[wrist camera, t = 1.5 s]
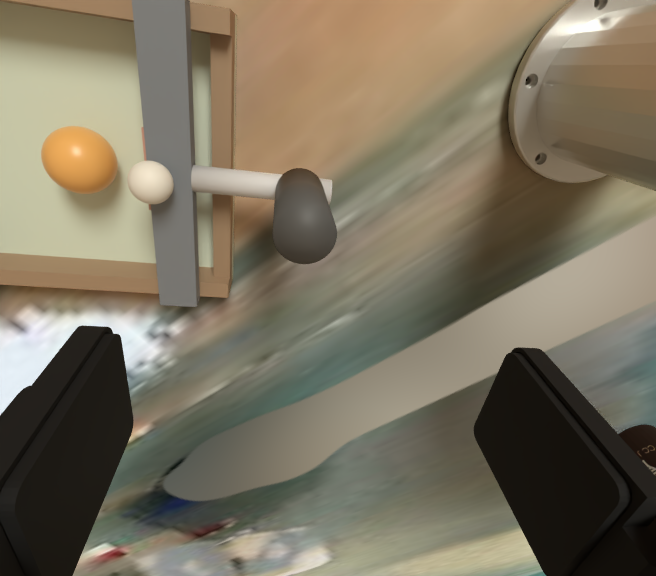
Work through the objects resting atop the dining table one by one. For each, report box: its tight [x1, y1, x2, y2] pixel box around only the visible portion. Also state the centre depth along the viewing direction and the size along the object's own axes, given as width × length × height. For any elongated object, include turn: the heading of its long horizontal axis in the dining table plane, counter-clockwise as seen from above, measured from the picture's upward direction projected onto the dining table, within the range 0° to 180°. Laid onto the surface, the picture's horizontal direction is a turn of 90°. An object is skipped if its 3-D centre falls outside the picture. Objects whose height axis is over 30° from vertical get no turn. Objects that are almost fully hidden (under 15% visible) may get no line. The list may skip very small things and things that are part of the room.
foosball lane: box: [0, 0, 237, 298], centre depth 24 cm, size 22×18×6 cm
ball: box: [41, 126, 118, 194], centre depth 24 cm, size 4×4×4 cm
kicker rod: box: [127, 0, 337, 307], centre depth 22 cm, size 12×18×11 cm, turn 172°
